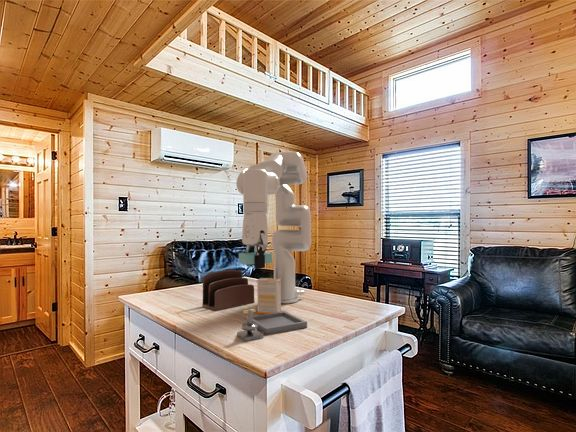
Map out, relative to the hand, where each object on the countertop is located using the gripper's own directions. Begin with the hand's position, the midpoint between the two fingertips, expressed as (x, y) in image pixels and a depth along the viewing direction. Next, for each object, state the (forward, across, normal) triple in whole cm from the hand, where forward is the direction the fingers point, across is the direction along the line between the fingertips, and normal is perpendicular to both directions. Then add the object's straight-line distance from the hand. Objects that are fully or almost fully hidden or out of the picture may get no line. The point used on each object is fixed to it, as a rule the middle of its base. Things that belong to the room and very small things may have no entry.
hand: (255, 266), depth 103 cm
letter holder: (+22, -40, +5) cm, 46 cm away
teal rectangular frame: (-1, 0, 0) cm, 1 cm away
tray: (+21, -5, +10) cm, 24 cm away
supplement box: (+21, -20, +14) cm, 32 cm away
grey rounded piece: (+21, +2, -2) cm, 21 cm away
